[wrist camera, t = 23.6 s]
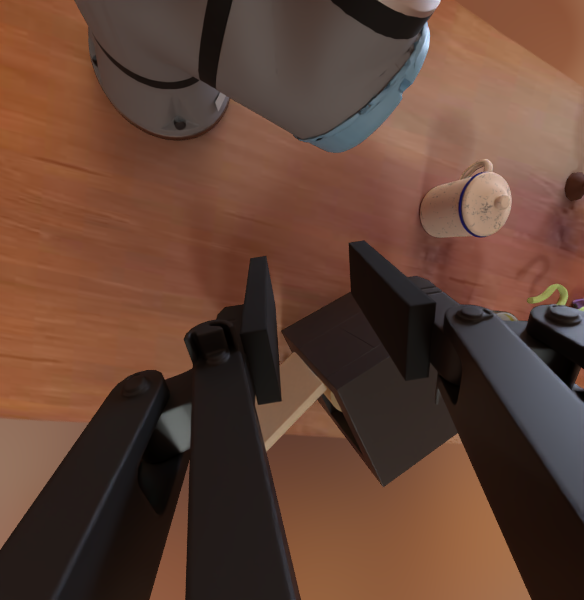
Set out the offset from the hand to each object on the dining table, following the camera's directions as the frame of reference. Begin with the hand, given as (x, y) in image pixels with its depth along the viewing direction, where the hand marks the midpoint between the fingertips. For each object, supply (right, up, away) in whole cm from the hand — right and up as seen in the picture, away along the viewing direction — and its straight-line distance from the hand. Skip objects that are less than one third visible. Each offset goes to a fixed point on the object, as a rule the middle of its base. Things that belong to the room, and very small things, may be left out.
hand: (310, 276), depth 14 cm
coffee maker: (+6, -9, +34) cm, 35 cm away
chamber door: (-6, -10, +22) cm, 25 cm away
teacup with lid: (+25, +15, +36) cm, 46 cm away
